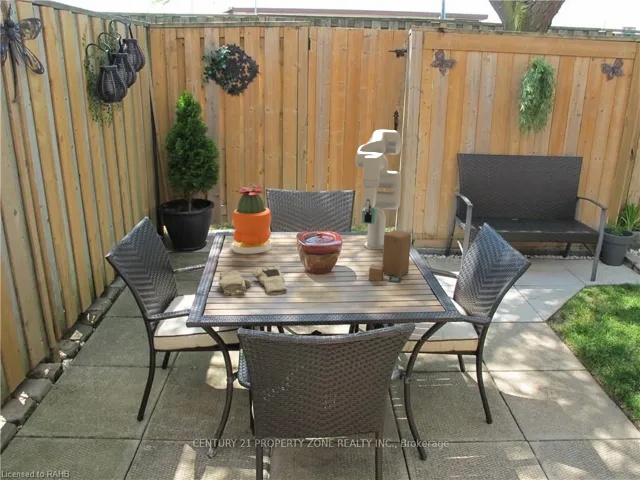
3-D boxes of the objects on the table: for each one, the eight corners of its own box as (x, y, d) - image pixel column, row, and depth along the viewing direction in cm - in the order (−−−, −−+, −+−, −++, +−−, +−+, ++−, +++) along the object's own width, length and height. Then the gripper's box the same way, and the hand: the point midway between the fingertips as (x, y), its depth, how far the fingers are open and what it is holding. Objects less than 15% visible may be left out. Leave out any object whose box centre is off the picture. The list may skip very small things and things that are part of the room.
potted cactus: (228, 245, 297) (225, 183, 286) (266, 241, 306) (265, 180, 295) (239, 258, 279) (237, 192, 268) (280, 253, 288) (279, 188, 277)
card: (389, 277, 258) (389, 276, 258) (401, 278, 256) (402, 277, 256) (387, 281, 252) (387, 280, 252) (400, 283, 251) (400, 282, 251)
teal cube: (364, 219, 256) (364, 207, 254) (376, 220, 255) (377, 208, 253) (361, 223, 251) (362, 210, 249) (374, 224, 249) (374, 211, 247)
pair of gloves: (281, 273, 262) (281, 262, 260) (287, 294, 238) (287, 283, 236) (219, 275, 257) (218, 265, 255) (218, 298, 233) (217, 286, 231)
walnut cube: (370, 275, 260) (371, 263, 258) (383, 276, 258) (383, 265, 257) (368, 279, 254) (369, 268, 252) (381, 281, 253) (382, 269, 251)
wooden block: (399, 277, 257) (401, 238, 251) (381, 272, 263) (383, 233, 257) (409, 271, 265) (412, 233, 258) (391, 267, 270) (393, 229, 264)
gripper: (366, 178, 256) (364, 214, 261) (359, 186, 240) (357, 224, 246) (382, 179, 254) (380, 216, 260) (375, 187, 238) (373, 226, 244)
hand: (369, 220), depth 253 cm, fingers closed on teal cube, 6 cm apart
